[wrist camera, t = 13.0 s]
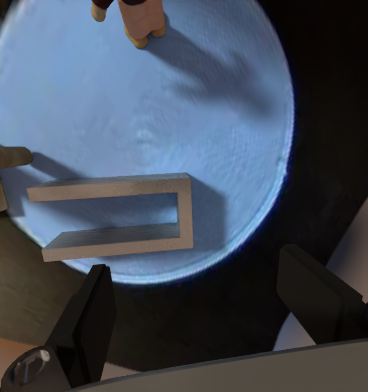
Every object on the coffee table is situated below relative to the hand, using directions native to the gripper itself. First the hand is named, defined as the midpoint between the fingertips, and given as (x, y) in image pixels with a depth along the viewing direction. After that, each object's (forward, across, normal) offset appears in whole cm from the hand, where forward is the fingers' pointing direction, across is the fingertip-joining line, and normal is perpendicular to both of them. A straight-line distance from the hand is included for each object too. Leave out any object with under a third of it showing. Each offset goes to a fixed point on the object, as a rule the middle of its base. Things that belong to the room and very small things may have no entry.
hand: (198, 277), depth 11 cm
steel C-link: (+16, +7, +1) cm, 17 cm away
